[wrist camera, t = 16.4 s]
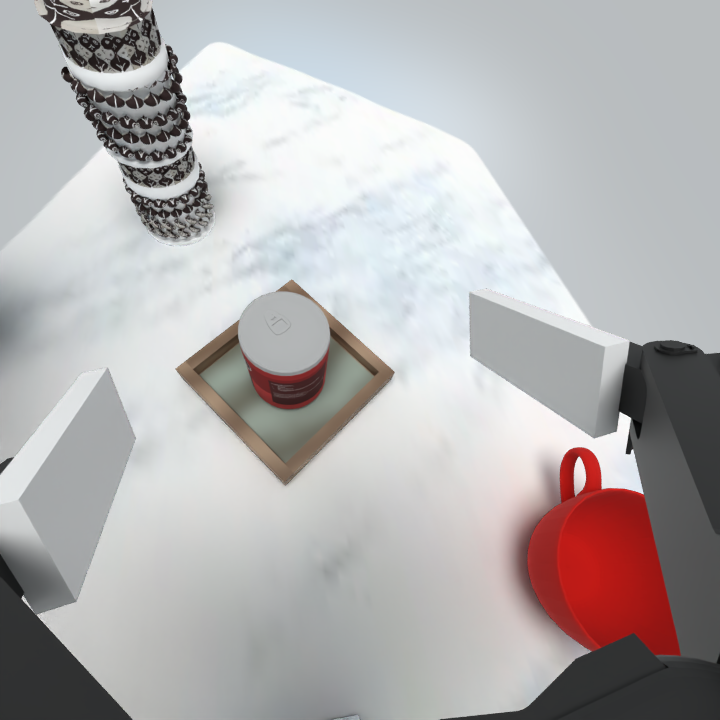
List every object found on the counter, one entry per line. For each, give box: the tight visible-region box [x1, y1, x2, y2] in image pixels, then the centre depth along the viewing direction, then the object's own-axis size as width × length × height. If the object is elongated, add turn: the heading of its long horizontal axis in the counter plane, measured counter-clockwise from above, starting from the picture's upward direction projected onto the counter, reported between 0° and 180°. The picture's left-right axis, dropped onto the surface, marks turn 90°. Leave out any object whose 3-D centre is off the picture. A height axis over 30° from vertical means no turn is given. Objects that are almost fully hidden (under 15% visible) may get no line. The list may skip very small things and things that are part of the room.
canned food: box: [238, 291, 330, 409], centre depth 40 cm, size 8×8×11 cm
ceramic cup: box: [527, 447, 681, 656], centre depth 38 cm, size 13×17×10 cm
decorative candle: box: [34, 0, 215, 246], centre depth 42 cm, size 9×9×25 cm
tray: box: [176, 280, 394, 485], centre depth 45 cm, size 16×16×2 cm
